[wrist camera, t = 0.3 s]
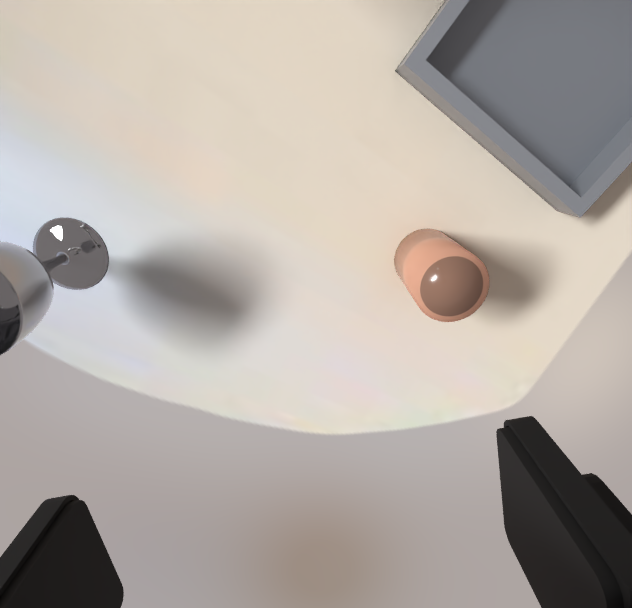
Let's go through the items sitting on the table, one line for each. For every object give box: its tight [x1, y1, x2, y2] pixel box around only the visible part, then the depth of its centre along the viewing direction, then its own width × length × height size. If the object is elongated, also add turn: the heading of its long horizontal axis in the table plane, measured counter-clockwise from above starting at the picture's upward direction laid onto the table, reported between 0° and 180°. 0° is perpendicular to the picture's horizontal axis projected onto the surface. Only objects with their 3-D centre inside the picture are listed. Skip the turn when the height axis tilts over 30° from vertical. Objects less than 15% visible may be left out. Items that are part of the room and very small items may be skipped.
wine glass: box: [0, 218, 108, 355], centre depth 37 cm, size 8×8×15 cm
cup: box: [394, 229, 489, 322], centre depth 41 cm, size 6×6×9 cm
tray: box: [395, 0, 632, 217], centre depth 37 cm, size 20×22×4 cm
